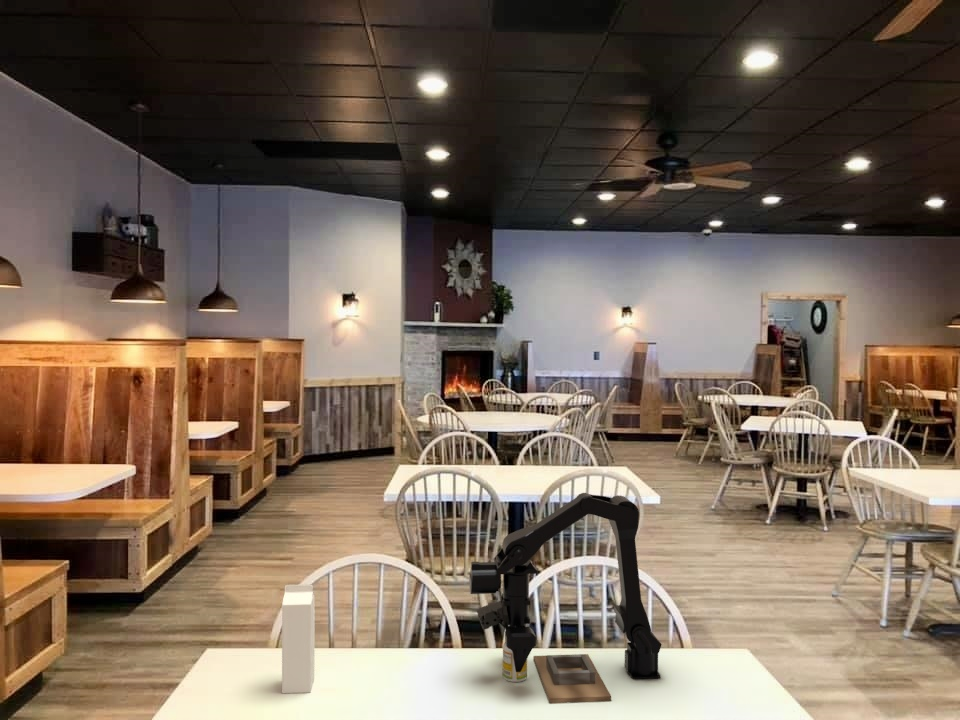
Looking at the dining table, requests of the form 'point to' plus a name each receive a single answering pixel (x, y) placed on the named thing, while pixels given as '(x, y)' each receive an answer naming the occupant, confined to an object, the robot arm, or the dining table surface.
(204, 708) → the dining table surface
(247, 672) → the dining table surface
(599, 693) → the can holder
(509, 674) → the supplement bottle
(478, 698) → the dining table surface
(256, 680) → the dining table surface
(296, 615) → the milk
